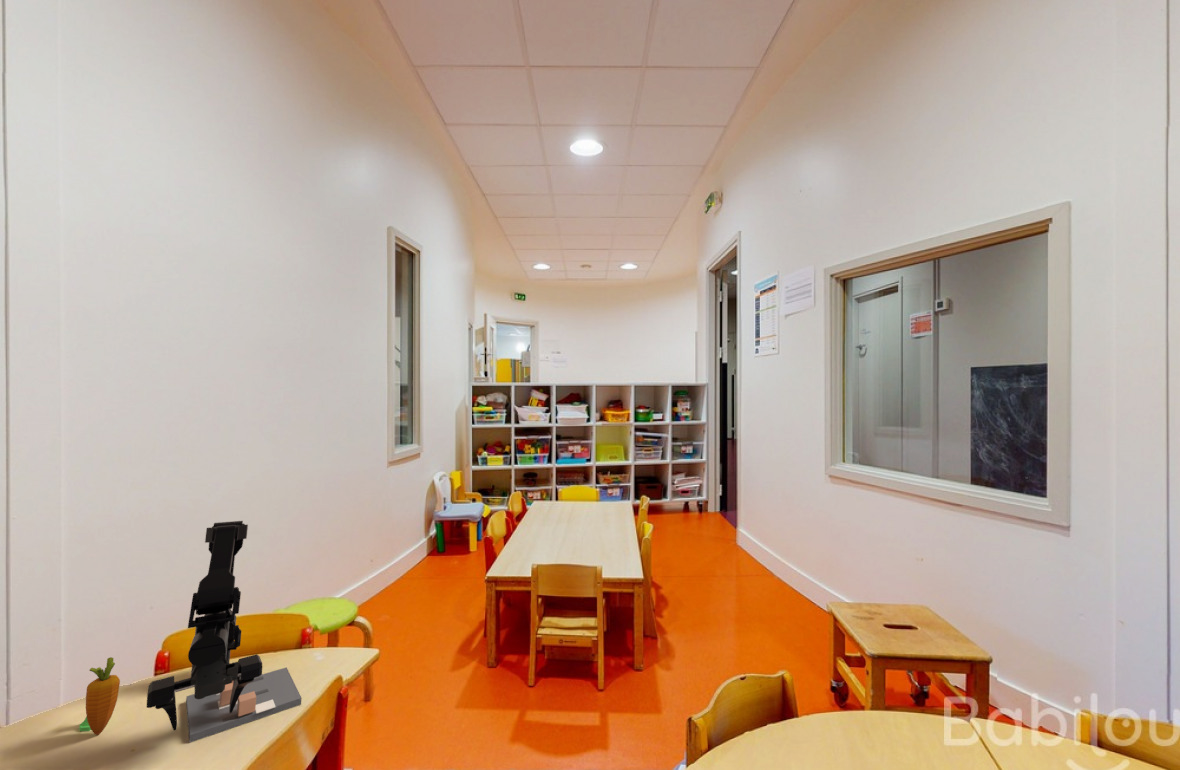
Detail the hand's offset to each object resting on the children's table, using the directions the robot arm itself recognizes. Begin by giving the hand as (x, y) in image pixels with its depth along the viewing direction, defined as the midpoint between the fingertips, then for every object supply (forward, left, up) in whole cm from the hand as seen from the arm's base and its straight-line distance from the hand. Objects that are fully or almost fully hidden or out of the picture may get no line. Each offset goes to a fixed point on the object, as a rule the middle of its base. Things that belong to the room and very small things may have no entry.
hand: (203, 720), depth 98 cm
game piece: (-18, -17, -3) cm, 25 cm away
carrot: (-13, -16, -3) cm, 21 cm away
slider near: (0, +7, -1) cm, 7 cm away
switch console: (-7, +8, -3) cm, 11 cm away
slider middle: (-7, +5, -1) cm, 8 cm away
